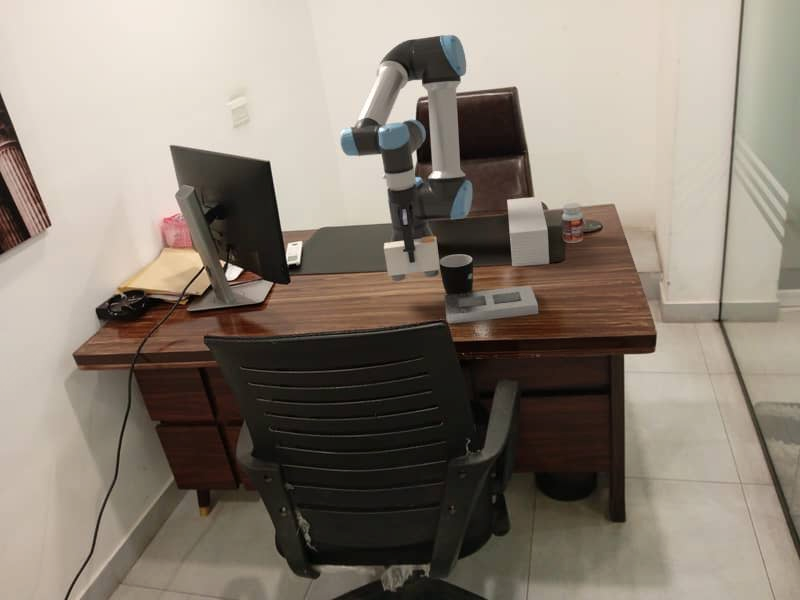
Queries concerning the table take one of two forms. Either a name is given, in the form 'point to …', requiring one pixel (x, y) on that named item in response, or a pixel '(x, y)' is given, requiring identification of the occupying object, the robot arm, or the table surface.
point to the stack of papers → (528, 232)
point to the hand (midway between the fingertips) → (414, 268)
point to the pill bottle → (572, 223)
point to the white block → (425, 257)
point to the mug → (457, 274)
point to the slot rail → (490, 304)
